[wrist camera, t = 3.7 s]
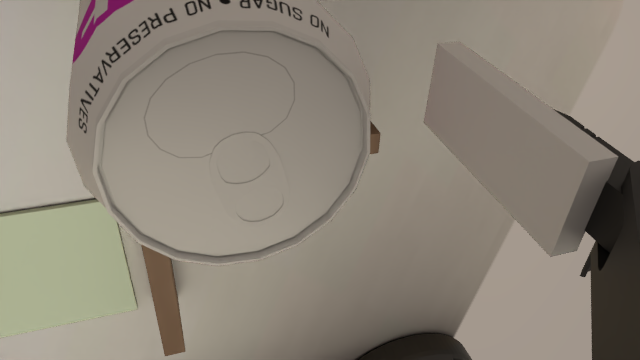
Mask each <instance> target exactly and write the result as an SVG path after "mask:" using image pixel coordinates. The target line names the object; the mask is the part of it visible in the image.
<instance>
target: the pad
mask: <svg viewBox="0 0 640 360" xmlns="http://www.w3.org/2000/svg"><path fill="white" fill-rule="evenodd" d="M132 310H137V303H136V298H135V294H134V290H133V286H132V282H131V277H130V273H129V269H128V265H127V261H126V256H125V252H124V248H123V244H122V240H121V235H120V231H119V227H118V223H117V221H116V220H115V219H114V218H113V217H112V216H111V215H110V214H109V213H108V212H107V209H106V208H105V207H104V206H103V205H102V204H101V203H100V202H99V201H98V200H97V199H94V200H88V201H81V202H75V203H68V204H61V205H55V206H48V207H41V208H35V209H28V210H22V211H15V212H8V213H2V214H0V338H3V337H7V336H12V335H17V334H22V333H27V332H31V331H36V330H41V329H46V328H51V327H55V326H60V325H65V324H70V323H75V322H79V321H84V320H89V319H94V318H99V317H103V316H108V315H113V314H118V313H123V312H127V311H132Z"/></svg>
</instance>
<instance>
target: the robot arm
mask: <svg viewBox="0 0 640 360" xmlns="http://www.w3.org/2000/svg"><path fill="white" fill-rule="evenodd" d="M424 123H425V124H426V125H427V126H428V128H429V129H430V130H431V131H432V132H433V133H434V134H435V135H436V136H437V137H438V138H439V139H440V140H441V141H442V142H443V143H444V144H445V146H446V147H447V148H448V149H449V150H450V151H451V152H452V153H453V154H454V155H455V156H456V157H457V158H458V159H459V160H460V161H461V162H462V164H463V165H464V166H465V167H466V168H467V169H468V170H469V171H470V172H471V173H472V174H473V175H474V176H475V177H476V178H477V179H478V180H479V182H480V183H481V184H482V185H483V186H484V187H485V188H486V189H487V190H488V191H489V192H490V193H491V194H492V195H493V196H494V197H495V198H496V200H497V201H498V202H499V203H500V204H501V205H502V206H503V207H504V208H505V209H506V210H507V211H508V212H509V213H510V214H511V215H512V217H513V218H514V219H515V220H516V221H517V222H518V223H519V224H520V225H521V226H522V227H523V228H524V229H525V230H526V231H527V232H528V233H529V235H531V236H532V238H533V239H534V240H535V241H536V242H537V243H538V244H539V245H540V246H541V247H542V248H543V249H544V250H545V251H546V252H547V254H549V256H550V257H552V256H556V255H561V254H565V253H569V252H574V251H577V249H578V247H579V244H580V242H581V240H582V238H583V235H584V233H585V231H586V232H587V233H588V234H589V235H591V236H592V237H593V238H594V239H595V240H596V242H595V244H594V246H593V248H592V250H591V252H590V254H589V257H588V259H587V261H586V263H585V265H584V267H583V269H582V272H581V275H580V276H582V277H585V276H586V274H587V272H588V271H590V270H591V310H592V311H591V316H592V360H640V161H637V162H633V161H632V160H630V159H629V158H628V157H626V156H625V155H623V154H622V153H620V152H619V151H618V150H616V149H615V148H613V147H612V146H611V145H609V144H608V143H607V142H605V141H604V140H602V139H601V138H600V137H596V135H595V134H594V133H592V132H591V131H590V130H588V129H585V128H584V126H583V125H581V124H580V123H579V122H577V121H576V120H574V119H573V118H572V117H570V116H568V115H566V114H563V113H561V112H559V111H556V110H554V109H552V108H551V107H549V106H548V105H547V104H545V103H544V102H542V101H541V100H540V99H538V98H537V97H536V96H534V95H533V94H531V93H530V92H529V91H527V90H526V89H525V88H523V87H522V86H520V85H519V84H518V83H516V82H515V81H513V80H512V79H511V78H509V77H508V76H507V75H505V74H504V73H502V72H501V71H500V70H498V69H497V68H496V67H494V66H493V65H491V64H490V63H489V62H487V61H486V60H485V59H483V58H482V57H480V56H479V55H478V54H476V53H475V52H474V51H472V50H471V49H469V48H468V47H467V46H465V45H464V44H463V43H461V42H449V43H438V45H437V50H436V56H435V61H434V67H433V73H432V78H431V84H430V90H429V95H428V101H427V106H426V112H425V118H424ZM358 360H472V359H471V357H470V356H469V354H468V353H467V351H466V350H465V348H464V347H463V345H462V344H461V343H460V342H459V341H457V340H456V339H454V338H452V337H450V336H447V335H442V334H420V335H414V336H409V337H405V338H401V339H398V340H395V341H393V342H390V343H387V344H385V345H383V346H381V347H379V348H377V349H375V350H373V351H371V352H369V353H368V354H366V355H364V356H363V357H361V358H360V359H358Z"/></svg>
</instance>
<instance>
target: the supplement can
mask: <svg viewBox="0 0 640 360" xmlns="http://www.w3.org/2000/svg"><path fill="white" fill-rule="evenodd" d="M67 143H68V146H69V148H70V151H71V153H72V156H73V158H74V161H75V164H76V166H77V169H78V171H79V174H80V176H81V179H82V181H83V184H84V186H85V187H86V188H87V189H88V190H89V192H90V193H91V194H92V195H93V196H94V197H95V198H96V199H97V200H98V201H99V202H100V203H101V204H102V205H103V206H104V207H105V208H106V209H107V212H108V213H109V214H110V215H111V216H112V217H113V218H114V219H115V220H116V221H117V223H118V224H119V225H120V226H121V227H122V228H123V229H124V230H125V231H126V232H127V233H128V234H129V235H130V236H131V237H132V238H133V239H134V240H135V241H136V242H137V243H139V244H141V245H144V246H146V247H148V248H150V249H152V250H154V251H156V252H159V253H161V254H163V255H165V256H167V257H169V258H171V259H173V260H177V261H184V262H191V263H199V264H206V265H213V266H221V265H229V264H236V263H244V262H252V261H259V260H262V259H264V258H267V257H269V256H272V255H274V254H277V253H279V252H282V251H284V250H287V249H289V248H292V247H294V246H297V245H299V244H300V243H302V242H303V241H304V240H306V239H307V238H308V237H310V236H311V235H312V234H314V233H315V232H317V231H318V230H319V229H321V228H322V227H323V226H325V225H326V224H328V223H329V222H330V221H332V219H333V218H334V217H335V215H336V214H337V213H338V212H339V210H340V209H341V208H342V207H343V205H344V204H345V203H346V202H347V200H348V199H349V198H350V197H351V195H352V194H353V193H354V191H355V190H356V189H357V186H358V183H359V181H360V178H361V175H362V173H363V170H364V168H365V165H366V162H367V160H368V157H369V154H370V80H369V77H368V75H367V72H366V69H365V67H364V64H363V62H362V59H361V57H360V54H359V52H358V49H357V46H356V44H355V41H354V39H353V37H352V36H351V35H350V34H349V33H348V32H347V31H346V30H345V29H344V28H343V27H342V26H341V25H340V24H339V23H338V22H337V21H336V20H335V19H334V18H333V17H332V16H331V15H330V14H329V13H328V12H327V11H326V10H325V9H324V8H323V7H322V5H321V4H320V3H319V2H318V1H317V0H80V7H79V15H78V23H77V31H76V39H75V47H74V55H73V63H72V71H71V79H70V87H69V104H68V123H67Z"/></svg>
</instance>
